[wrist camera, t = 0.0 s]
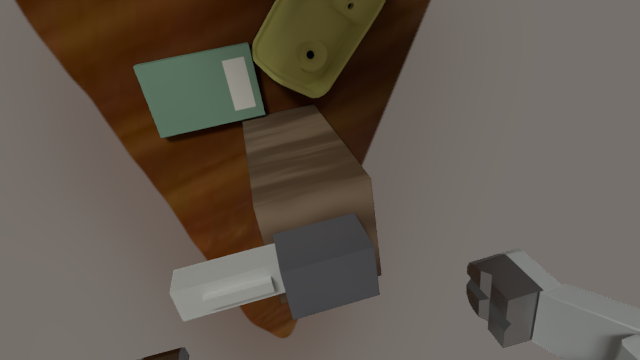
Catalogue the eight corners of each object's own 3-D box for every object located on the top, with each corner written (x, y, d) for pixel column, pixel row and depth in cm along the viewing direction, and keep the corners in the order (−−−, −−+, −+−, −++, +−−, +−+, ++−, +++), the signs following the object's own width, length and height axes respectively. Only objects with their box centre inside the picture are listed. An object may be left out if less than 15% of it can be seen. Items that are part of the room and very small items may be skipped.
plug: (169, 261, 34) (160, 306, 29) (354, 212, 36) (374, 246, 31) (189, 304, 37) (184, 352, 32) (360, 256, 39) (379, 294, 34)
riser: (242, 120, 56) (253, 208, 34) (313, 103, 58) (370, 178, 35) (260, 188, 62) (281, 303, 39) (325, 172, 63) (381, 275, 41)
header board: (135, 64, 50) (133, 66, 48) (247, 42, 52) (248, 43, 50) (162, 134, 55) (161, 138, 53) (264, 111, 56) (265, 114, 55)
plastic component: (321, 102, 55) (269, 79, 48) (296, 78, 60) (246, 54, 52) (404, -27, 49) (359, -76, 41) (370, -43, 53) (324, -90, 46)
